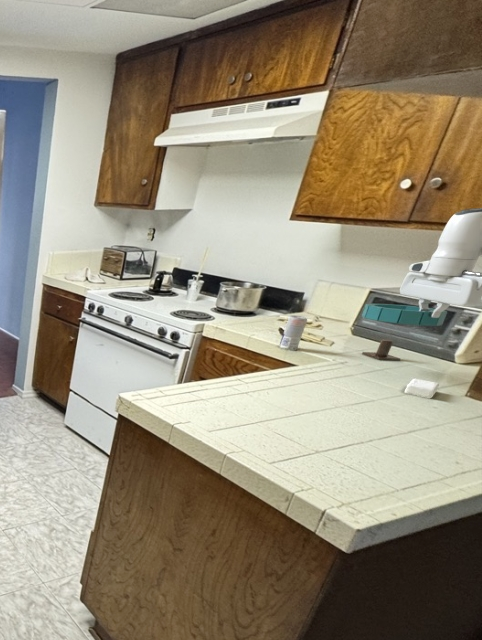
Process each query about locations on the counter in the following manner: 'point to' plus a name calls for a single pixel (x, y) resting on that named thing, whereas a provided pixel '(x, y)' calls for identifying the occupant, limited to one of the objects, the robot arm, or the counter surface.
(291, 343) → the energy drink
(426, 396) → the soap
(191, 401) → the counter surface
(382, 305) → the ring
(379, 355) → the peg stand
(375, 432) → the counter surface
